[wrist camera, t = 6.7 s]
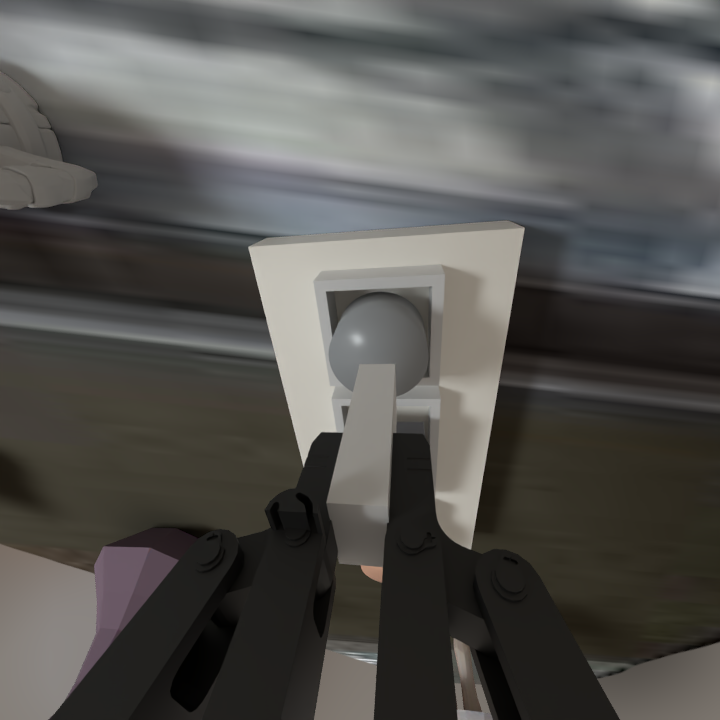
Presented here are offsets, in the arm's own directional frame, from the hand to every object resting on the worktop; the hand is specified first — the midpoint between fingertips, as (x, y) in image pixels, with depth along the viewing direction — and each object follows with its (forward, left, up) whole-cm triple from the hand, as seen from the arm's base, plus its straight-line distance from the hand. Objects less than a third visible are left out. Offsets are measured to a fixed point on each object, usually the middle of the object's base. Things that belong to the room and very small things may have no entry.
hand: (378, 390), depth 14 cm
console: (+10, 0, -10) cm, 14 cm away
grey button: (0, 0, -6) cm, 6 cm away
